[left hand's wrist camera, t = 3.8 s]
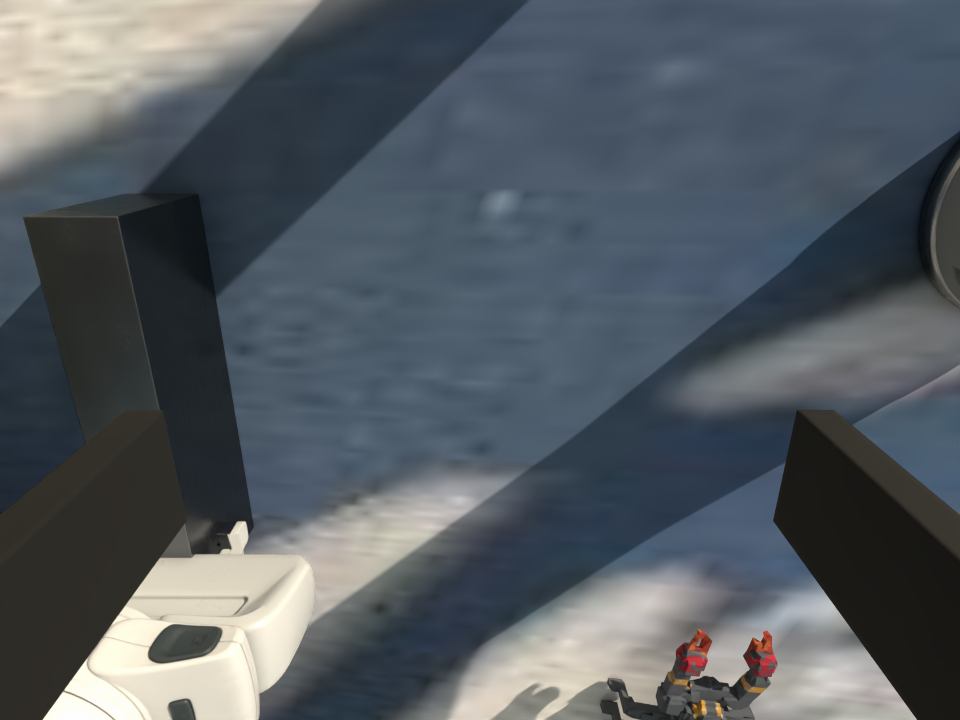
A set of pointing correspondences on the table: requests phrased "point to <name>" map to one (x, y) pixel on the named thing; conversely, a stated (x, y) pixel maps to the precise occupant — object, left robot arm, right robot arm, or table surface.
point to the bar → (147, 340)
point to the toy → (701, 687)
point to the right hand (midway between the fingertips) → (195, 528)
